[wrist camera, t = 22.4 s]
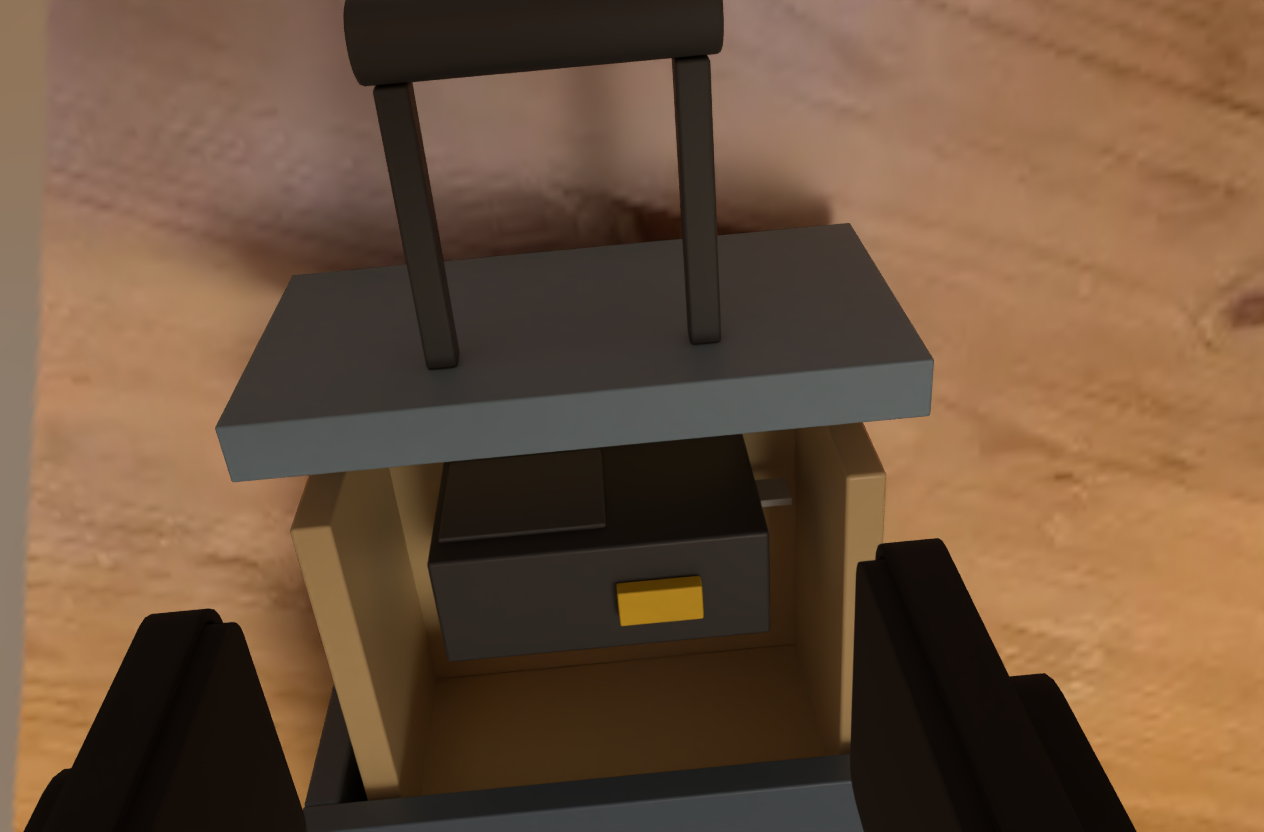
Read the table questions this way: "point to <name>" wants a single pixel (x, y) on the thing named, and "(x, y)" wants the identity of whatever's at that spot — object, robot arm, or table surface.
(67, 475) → the table surface
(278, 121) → the table surface
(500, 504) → the box with yellow tab
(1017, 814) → the robot arm
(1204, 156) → the table surface
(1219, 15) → the table surface
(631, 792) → the cabinet
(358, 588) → the drawer
